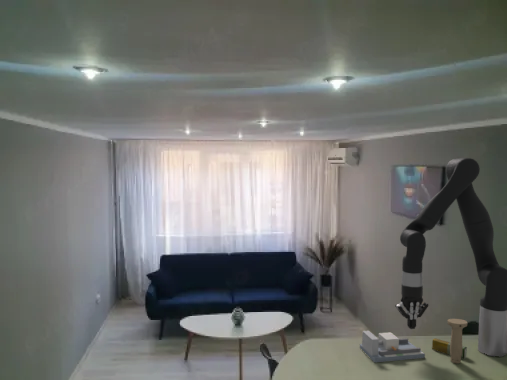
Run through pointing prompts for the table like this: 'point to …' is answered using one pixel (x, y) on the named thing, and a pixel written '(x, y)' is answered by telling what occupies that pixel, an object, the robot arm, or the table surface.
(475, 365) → the table surface
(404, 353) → the gauge bed
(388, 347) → the plunger
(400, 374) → the table surface
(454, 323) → the handle
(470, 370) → the table surface
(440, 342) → the medication box
